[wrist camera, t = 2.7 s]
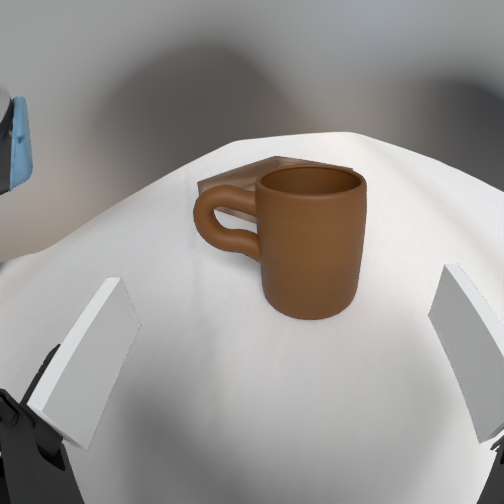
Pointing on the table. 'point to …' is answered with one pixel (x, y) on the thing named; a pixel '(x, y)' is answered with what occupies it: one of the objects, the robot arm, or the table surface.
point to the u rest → (249, 178)
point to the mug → (296, 234)
